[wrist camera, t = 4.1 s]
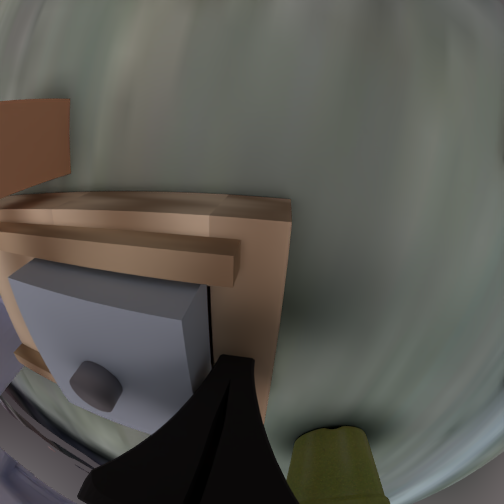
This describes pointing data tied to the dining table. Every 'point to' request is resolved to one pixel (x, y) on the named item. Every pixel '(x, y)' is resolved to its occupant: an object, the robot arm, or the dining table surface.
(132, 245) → the puzzle board
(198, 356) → the slate cover
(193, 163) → the dining table surface
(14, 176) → the terracotta block
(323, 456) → the plant pot
